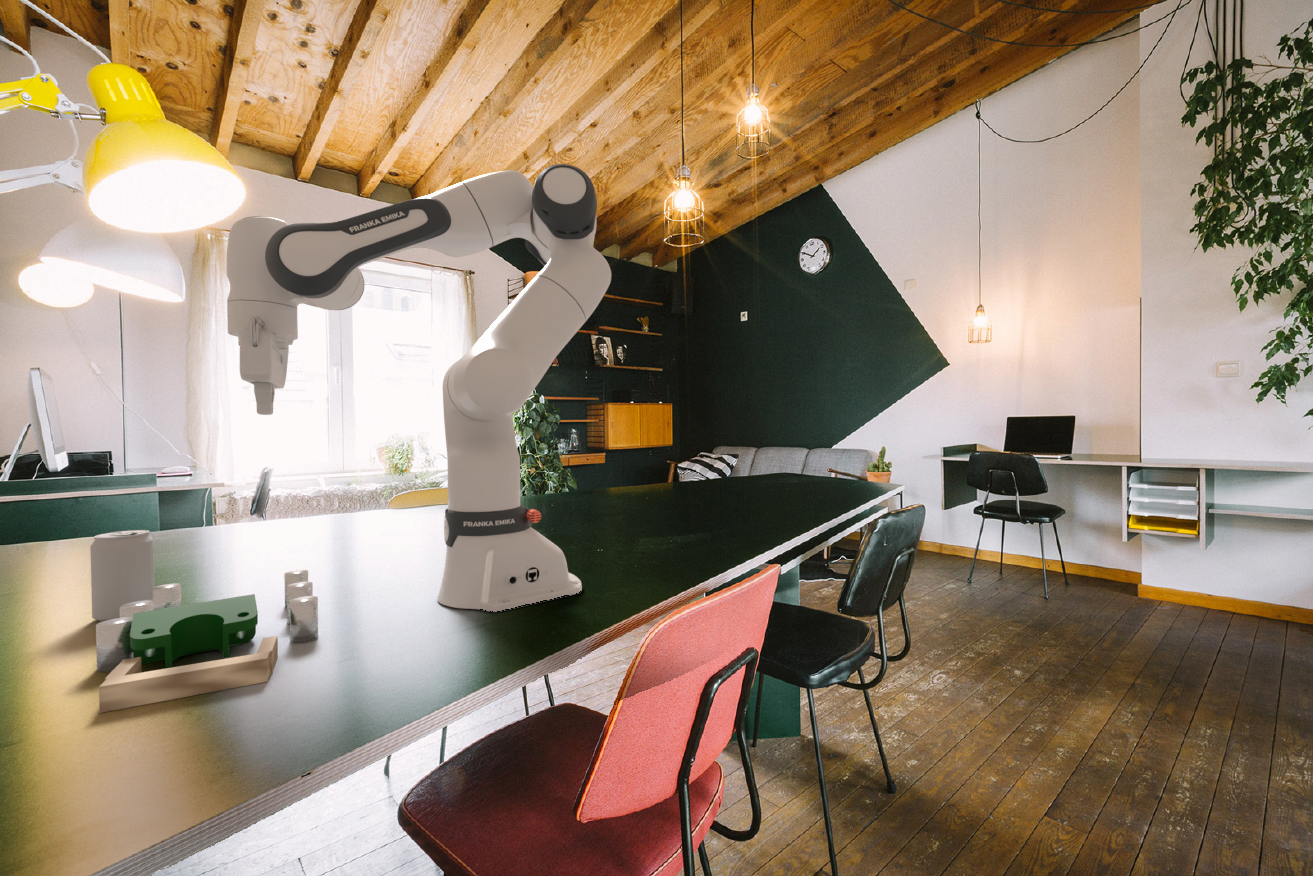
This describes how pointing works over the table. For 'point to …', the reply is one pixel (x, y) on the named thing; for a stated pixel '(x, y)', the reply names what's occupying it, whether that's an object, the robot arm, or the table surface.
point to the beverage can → (120, 571)
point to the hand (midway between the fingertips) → (265, 414)
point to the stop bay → (184, 678)
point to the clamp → (193, 629)
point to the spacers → (117, 631)
